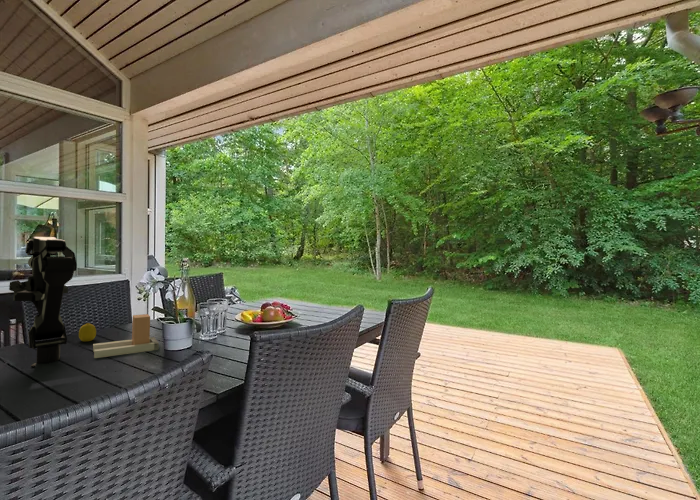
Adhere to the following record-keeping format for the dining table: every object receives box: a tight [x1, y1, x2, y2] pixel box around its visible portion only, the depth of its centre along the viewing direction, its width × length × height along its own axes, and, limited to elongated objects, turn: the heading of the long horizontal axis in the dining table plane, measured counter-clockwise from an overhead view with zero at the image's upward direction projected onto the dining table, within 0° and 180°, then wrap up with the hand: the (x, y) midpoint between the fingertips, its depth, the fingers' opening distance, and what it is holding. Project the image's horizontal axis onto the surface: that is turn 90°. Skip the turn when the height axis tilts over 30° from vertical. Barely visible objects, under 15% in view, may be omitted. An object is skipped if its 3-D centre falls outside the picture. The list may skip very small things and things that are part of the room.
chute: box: [92, 336, 160, 359], centre depth 130 cm, size 19×10×4 cm, turn 128°
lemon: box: [78, 322, 97, 343], centre depth 139 cm, size 6×6×8 cm
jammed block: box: [131, 313, 151, 345], centre depth 133 cm, size 5×5×12 cm
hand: (42, 317), depth 125 cm, fingers closed
